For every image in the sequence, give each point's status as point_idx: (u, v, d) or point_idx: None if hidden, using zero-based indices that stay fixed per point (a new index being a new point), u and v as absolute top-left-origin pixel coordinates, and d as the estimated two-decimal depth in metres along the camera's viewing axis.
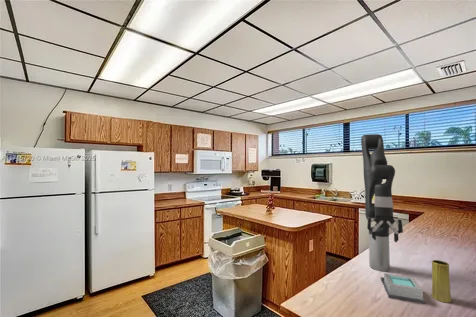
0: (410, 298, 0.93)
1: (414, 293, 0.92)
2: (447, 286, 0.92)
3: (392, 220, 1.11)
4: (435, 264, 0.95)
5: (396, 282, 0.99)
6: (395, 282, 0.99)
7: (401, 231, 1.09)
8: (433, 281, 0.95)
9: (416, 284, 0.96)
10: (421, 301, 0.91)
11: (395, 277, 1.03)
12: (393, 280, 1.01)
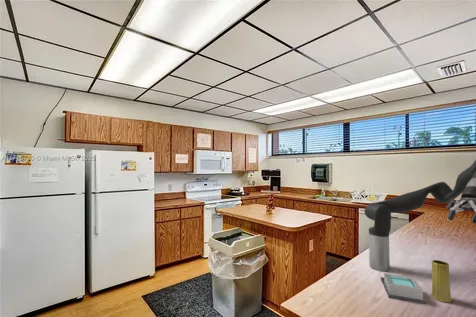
0: (410, 298, 0.93)
1: (414, 293, 0.92)
2: (447, 286, 0.92)
3: None
4: (435, 264, 0.95)
5: (396, 282, 0.99)
6: (395, 282, 0.99)
7: None
8: (433, 281, 0.95)
9: (416, 284, 0.96)
10: (421, 301, 0.91)
11: (395, 277, 1.03)
12: (393, 280, 1.01)
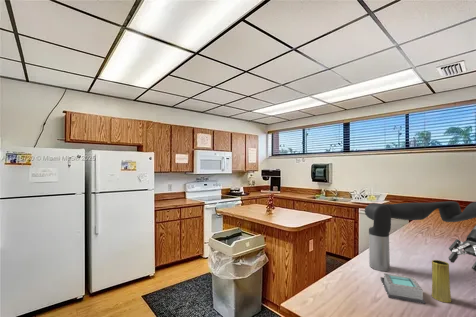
0: (410, 298, 0.93)
1: (414, 293, 0.92)
2: (447, 286, 0.92)
3: None
4: (435, 264, 0.95)
5: (396, 282, 0.99)
6: (395, 282, 0.99)
7: None
8: (433, 281, 0.95)
9: (416, 284, 0.96)
10: (421, 301, 0.91)
11: (395, 277, 1.03)
12: (393, 280, 1.01)
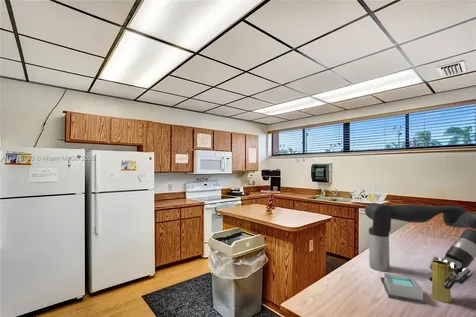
0: (410, 298, 0.93)
1: (414, 293, 0.92)
2: None
3: (460, 265, 0.93)
4: (435, 264, 0.94)
5: (396, 282, 0.99)
6: (395, 282, 0.99)
7: (457, 278, 0.90)
8: (433, 281, 0.95)
9: (416, 284, 0.96)
10: (421, 301, 0.91)
11: (395, 277, 1.03)
12: (393, 280, 1.01)
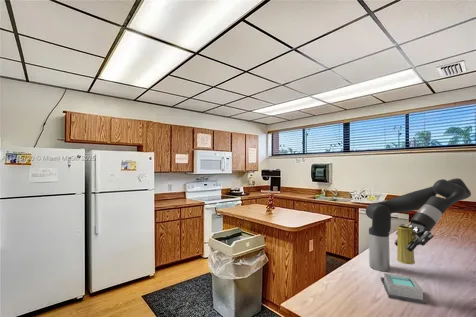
0: (410, 298, 0.93)
1: (414, 293, 0.92)
2: None
3: (422, 229, 0.96)
4: (400, 228, 0.98)
5: (396, 282, 0.99)
6: (395, 282, 0.99)
7: (419, 240, 0.94)
8: (398, 246, 0.99)
9: (416, 284, 0.96)
10: (421, 301, 0.91)
11: (395, 277, 1.03)
12: (393, 280, 1.01)
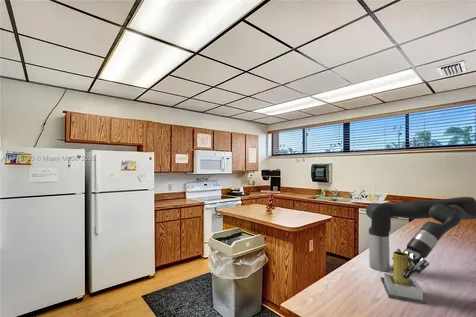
0: (410, 298, 0.93)
1: (414, 293, 0.92)
2: None
3: (418, 256, 0.97)
4: (395, 255, 0.99)
5: None
6: None
7: (414, 267, 0.94)
8: (394, 272, 1.00)
9: (416, 284, 0.96)
10: (421, 301, 0.91)
11: None
12: None
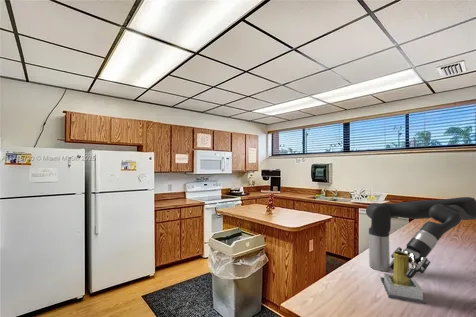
0: (410, 298, 0.93)
1: (414, 293, 0.92)
2: (406, 276, 0.96)
3: (418, 255, 0.97)
4: (396, 255, 0.99)
5: None
6: None
7: (418, 267, 0.93)
8: (394, 272, 1.00)
9: (416, 284, 0.96)
10: (421, 301, 0.91)
11: None
12: None
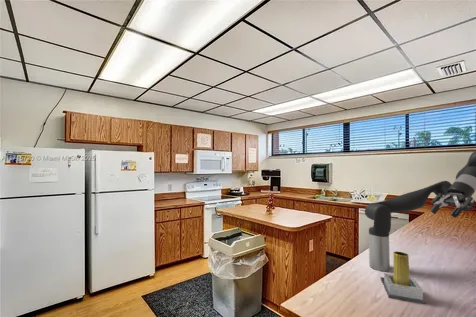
0: (410, 298, 0.93)
1: (414, 293, 0.92)
2: (406, 276, 0.96)
3: (462, 196, 0.99)
4: (396, 255, 0.99)
5: None
6: None
7: (464, 205, 0.95)
8: (394, 272, 1.00)
9: (416, 284, 0.96)
10: (421, 301, 0.91)
11: None
12: None
